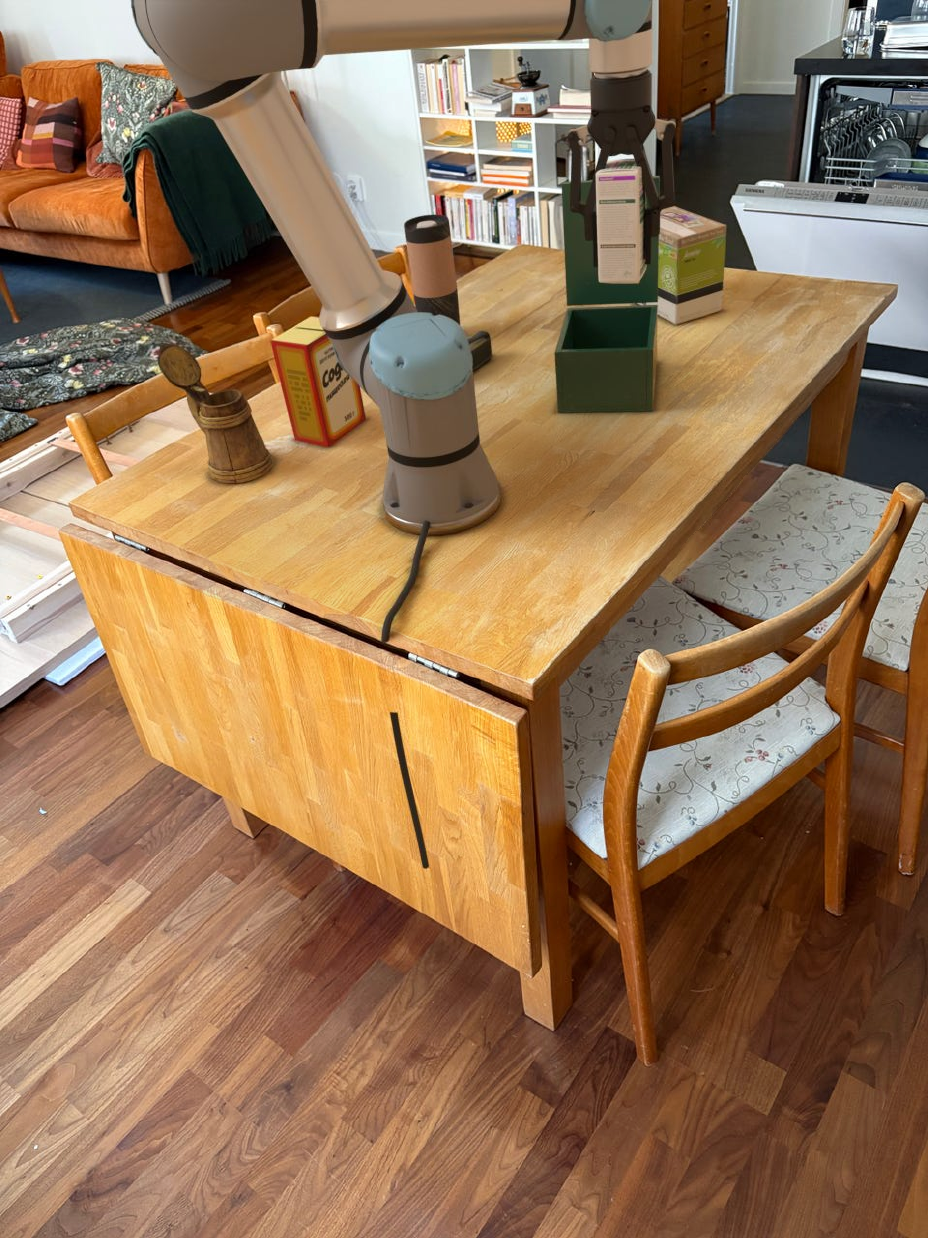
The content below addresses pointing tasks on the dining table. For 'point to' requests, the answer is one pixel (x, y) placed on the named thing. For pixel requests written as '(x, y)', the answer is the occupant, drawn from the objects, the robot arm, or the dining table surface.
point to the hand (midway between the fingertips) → (622, 261)
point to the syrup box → (620, 222)
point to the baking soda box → (316, 385)
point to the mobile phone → (480, 348)
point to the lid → (585, 276)
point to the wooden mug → (218, 420)
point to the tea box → (689, 265)
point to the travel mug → (432, 265)
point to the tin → (607, 359)
